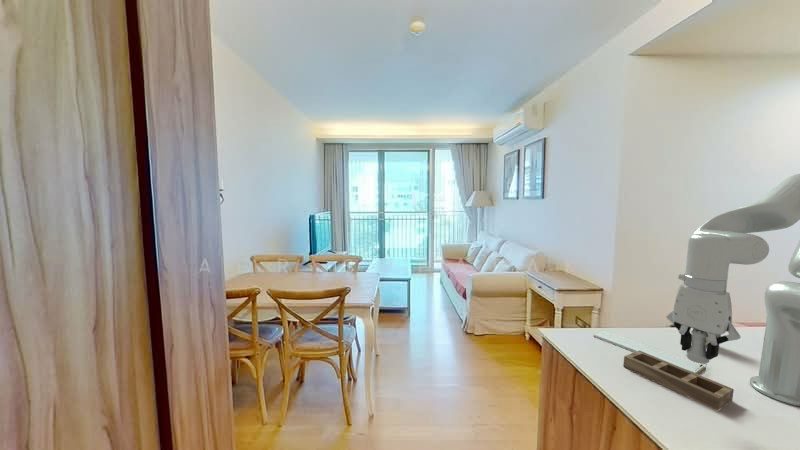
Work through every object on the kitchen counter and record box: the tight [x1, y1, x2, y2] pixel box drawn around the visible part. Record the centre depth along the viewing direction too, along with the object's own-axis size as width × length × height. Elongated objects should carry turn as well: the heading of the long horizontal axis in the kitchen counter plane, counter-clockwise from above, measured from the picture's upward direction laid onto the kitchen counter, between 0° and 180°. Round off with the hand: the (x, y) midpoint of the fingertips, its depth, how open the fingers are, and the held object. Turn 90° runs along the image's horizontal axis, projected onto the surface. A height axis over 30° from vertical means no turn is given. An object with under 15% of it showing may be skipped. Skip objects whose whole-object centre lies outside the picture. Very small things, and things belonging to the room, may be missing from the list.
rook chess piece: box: [685, 328, 710, 365], centre depth 81 cm, size 4×4×8 cm
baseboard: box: [593, 330, 708, 375], centre depth 113 cm, size 30×3×10 cm
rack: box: [622, 350, 735, 412], centre depth 94 cm, size 9×23×4 cm, turn 26°
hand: (698, 352), depth 81 cm, fingers closed on rook chess piece, 4 cm apart
